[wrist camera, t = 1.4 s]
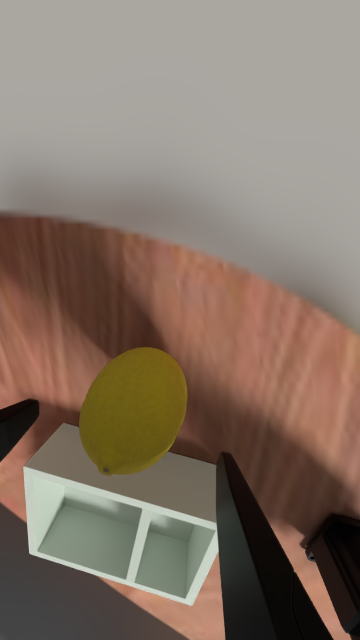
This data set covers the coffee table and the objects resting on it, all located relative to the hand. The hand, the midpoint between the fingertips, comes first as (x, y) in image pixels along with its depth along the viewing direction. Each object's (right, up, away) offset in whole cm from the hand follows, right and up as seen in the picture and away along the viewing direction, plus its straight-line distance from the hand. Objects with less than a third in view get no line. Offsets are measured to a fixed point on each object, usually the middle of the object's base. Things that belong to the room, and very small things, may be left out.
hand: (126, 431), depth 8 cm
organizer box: (-3, -12, +10) cm, 16 cm away
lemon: (+1, +2, +6) cm, 6 cm away
